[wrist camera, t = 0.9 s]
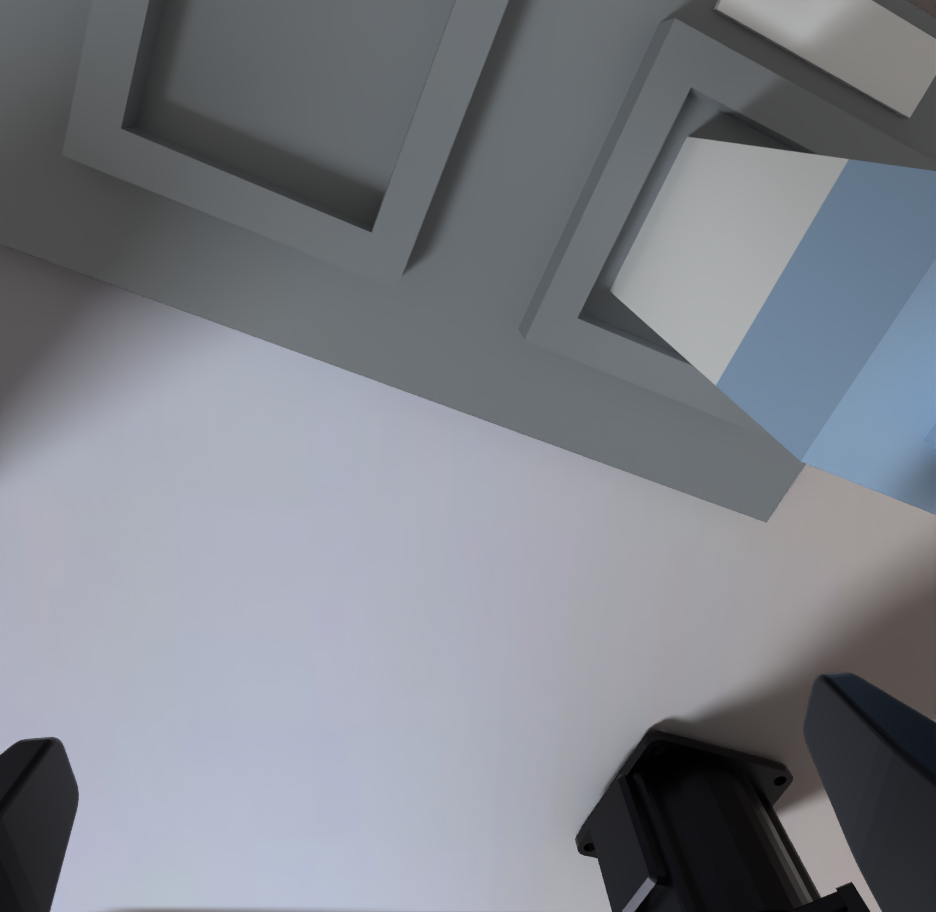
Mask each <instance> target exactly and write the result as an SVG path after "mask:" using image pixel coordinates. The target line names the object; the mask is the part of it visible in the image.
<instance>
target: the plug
mask: <svg viewBox="0 0 936 912" xmlns="http://www.w3.org/2000/svg"><path fill="white" fill-rule="evenodd" d="M610 292H611V293H612V294H613V295H615V296H616V297H617V298H618V299H619V300H620V301H621V302H622V303H624V304H625V305H626V306H627V307H628V308H629V309H630V310H631V311H633V312H634V313H635V314H636V315H637V316H638V317H639V318H640V319H642V320H643V321H644V322H645V323H646V324H647V325H648V326H649V327H650V328H652V329H653V330H654V331H655V332H656V333H657V334H658V335H659V336H661V337H662V338H663V339H664V340H665V341H666V342H667V343H668V344H670V345H671V346H672V347H673V348H674V349H675V350H676V351H677V352H679V353H680V354H681V355H682V356H683V357H684V358H685V359H686V360H687V361H689V362H690V363H691V364H692V365H693V366H694V367H695V368H696V369H698V370H699V371H700V372H701V373H702V374H703V375H704V376H705V377H707V378H708V379H709V380H710V381H711V382H712V383H713V384H714V385H716V386H717V387H718V388H719V389H720V390H721V391H722V392H723V393H724V394H726V395H727V396H728V397H729V398H730V399H731V400H732V401H733V402H735V403H736V404H737V405H738V406H739V407H740V408H741V409H742V410H744V411H745V412H746V413H747V414H748V415H749V416H750V417H751V418H752V419H754V420H755V421H756V422H757V423H758V424H759V425H760V426H761V427H763V428H764V429H765V430H766V431H767V432H768V433H769V434H770V435H772V436H773V437H774V438H775V439H776V440H777V441H778V442H779V443H781V444H782V445H783V446H784V447H785V448H786V449H787V450H788V451H789V452H791V453H792V454H793V455H794V456H795V457H796V458H797V459H798V460H800V461H801V462H803V463H806V464H808V465H811V466H814V467H816V468H819V469H821V470H824V471H826V472H829V473H831V474H834V475H836V476H839V477H841V478H844V479H847V480H849V481H852V482H854V483H857V484H859V485H862V486H864V487H867V488H869V489H872V490H874V491H877V492H880V493H882V494H885V495H887V496H890V497H892V498H895V499H897V500H900V501H902V502H905V503H907V504H910V505H912V506H915V507H918V508H920V509H923V510H925V511H928V512H930V513H933V514H935V515H936V171H931V170H923V169H916V168H909V167H902V166H895V165H887V164H880V163H873V162H866V161H859V160H851V159H844V158H837V157H830V156H823V155H815V154H808V153H801V152H794V151H787V150H779V149H772V148H765V147H758V146H751V145H743V144H736V143H729V142H722V141H715V140H707V139H700V138H693V137H687V138H686V140H685V142H684V144H683V146H682V148H681V150H680V152H679V154H678V156H677V158H676V160H675V162H674V164H673V166H672V168H671V170H670V172H669V174H668V176H667V178H666V180H665V182H664V184H663V186H662V188H661V190H660V192H659V194H658V196H657V198H656V200H655V202H654V204H653V206H652V208H651V209H650V211H649V213H648V215H647V217H646V219H645V221H644V223H643V225H642V227H641V229H640V231H639V233H638V235H637V237H636V239H635V241H634V243H633V245H632V247H631V249H630V251H629V253H628V255H627V257H626V259H625V261H624V263H623V265H622V267H621V269H620V271H619V273H618V275H617V277H616V279H615V281H614V283H613V285H612V287H611V289H610Z"/></svg>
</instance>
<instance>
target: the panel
mask: <svg viewBox="0 0 936 912" xmlns="http://www.w3.org/2000/svg"><path fill="white" fill-rule="evenodd" d="M687 137H693V138H700V139H707V140H715V141H722V142H729V143H736V144H743V145H751V146H758V147H765V148H772V149H779V150H787V151H794V152H801V153H808V154H815V155H823V156H830V157H837V158H844V159H851V160H859V161H866V162H873V163H880V164H887V165H895V166H902V167H909V168H916V169H923V170H931V171H936V18H935V17H933V16H931V15H930V14H928V13H926V12H925V11H923V10H922V9H920V8H918V7H917V6H915V5H913V4H912V3H910V2H909V1H907V0H0V244H1V245H4V246H6V247H9V248H12V249H15V250H17V251H20V252H23V253H26V254H28V255H31V256H34V257H37V258H39V259H42V260H45V261H48V262H50V263H53V264H56V265H59V266H62V267H64V268H67V269H70V270H73V271H75V272H78V273H81V274H84V275H86V276H89V277H92V278H95V279H97V280H100V281H103V282H106V283H108V284H111V285H114V286H117V287H119V288H122V289H125V290H128V291H130V292H133V293H136V294H139V295H141V296H144V297H147V298H150V299H152V300H155V301H158V302H161V303H163V304H166V305H169V306H172V307H174V308H177V309H180V310H183V311H185V312H188V313H191V314H194V315H196V316H199V317H202V318H205V319H207V320H210V321H213V322H216V323H218V324H221V325H224V326H227V327H229V328H232V329H235V330H238V331H240V332H243V333H246V334H249V335H251V336H254V337H257V338H260V339H263V340H265V341H268V342H271V343H274V344H276V345H279V346H282V347H285V348H287V349H290V350H293V351H296V352H298V353H301V354H304V355H307V356H309V357H312V358H315V359H318V360H320V361H323V362H326V363H329V364H331V365H334V366H337V367H340V368H342V369H345V370H348V371H351V372H353V373H356V374H359V375H362V376H364V377H367V378H370V379H373V380H375V381H378V382H381V383H384V384H386V385H389V386H392V387H395V388H397V389H400V390H403V391H406V392H408V393H411V394H414V395H417V396H419V397H422V398H425V399H428V400H430V401H433V402H436V403H439V404H441V405H444V406H447V407H450V408H452V409H455V410H458V411H461V412H464V413H466V414H469V415H472V416H475V417H477V418H480V419H483V420H486V421H488V422H491V423H494V424H497V425H499V426H502V427H505V428H508V429H510V430H513V431H516V432H519V433H521V434H524V435H527V436H530V437H532V438H535V439H538V440H541V441H543V442H546V443H549V444H552V445H554V446H557V447H560V448H563V449H565V450H568V451H571V452H574V453H576V454H579V455H582V456H585V457H587V458H590V459H593V460H596V461H598V462H601V463H604V464H607V465H609V466H612V467H615V468H618V469H620V470H623V471H626V472H629V473H631V474H634V475H637V476H640V477H642V478H645V479H648V480H651V481H653V482H656V483H659V484H662V485H665V486H667V487H670V488H673V489H676V490H678V491H681V492H684V493H687V494H689V495H692V496H695V497H698V498H700V499H703V500H706V501H709V502H711V503H714V504H717V505H720V506H722V507H725V508H728V509H731V510H733V511H736V512H739V513H742V514H744V515H747V516H750V517H753V518H755V519H758V520H761V521H764V522H766V523H767V521H768V520H769V518H770V517H771V515H772V514H773V512H774V511H775V509H776V508H777V506H778V505H779V503H780V502H781V500H782V499H783V497H784V496H785V494H786V493H787V491H788V490H789V488H790V487H791V485H792V484H793V482H794V481H795V479H796V478H797V476H798V475H799V473H800V472H801V470H802V469H803V467H804V466H805V464H806V463H803V462H801V461H800V460H798V459H797V458H796V457H795V456H794V455H793V454H792V453H791V452H789V451H788V450H787V449H786V448H785V447H784V446H783V445H782V444H781V443H779V442H778V441H777V440H776V439H775V438H774V437H773V436H772V435H770V434H769V433H768V432H767V431H766V430H765V429H764V428H763V427H761V426H760V425H759V424H758V423H757V422H756V421H755V420H754V419H752V418H751V417H750V416H749V415H748V414H747V413H746V412H745V411H744V410H742V409H741V408H740V407H739V406H738V405H737V404H736V403H735V402H733V401H732V400H731V399H730V398H729V397H728V396H727V395H726V394H724V393H723V392H722V391H721V390H720V389H719V388H718V387H717V386H716V385H714V384H713V383H712V382H711V381H710V380H709V379H708V378H707V377H705V376H704V375H703V374H702V373H701V372H700V371H699V370H698V369H696V368H695V367H694V366H693V365H692V364H691V363H690V362H689V361H687V360H686V359H685V358H684V357H683V356H682V355H681V354H680V353H679V352H677V351H676V350H675V349H674V348H673V347H672V346H671V345H670V344H668V343H667V342H666V341H665V340H664V339H663V338H662V337H661V336H659V335H658V334H657V333H656V332H655V331H654V330H653V329H652V328H650V327H649V326H648V325H647V324H646V323H645V322H644V321H643V320H642V319H640V318H639V317H638V316H637V315H636V314H635V313H634V312H633V311H631V310H630V309H629V308H628V307H627V306H626V305H625V304H624V303H622V302H621V301H620V300H619V299H618V298H617V297H616V296H615V295H613V294H612V293H611V292H610V289H611V287H612V285H613V283H614V281H615V279H616V277H617V275H618V273H619V271H620V269H621V267H622V265H623V263H624V261H625V259H626V257H627V255H628V253H629V251H630V249H631V247H632V245H633V243H634V241H635V239H636V237H637V235H638V233H639V231H640V229H641V227H642V225H643V223H644V221H645V219H646V217H647V215H648V213H649V211H650V209H651V208H652V206H653V204H654V202H655V200H656V198H657V196H658V194H659V192H660V190H661V188H662V186H663V184H664V182H665V180H666V178H667V176H668V174H669V172H670V170H671V168H672V166H673V164H674V162H675V160H676V158H677V156H678V154H679V152H680V150H681V148H682V146H683V144H684V142H685V140H686V138H687Z"/></svg>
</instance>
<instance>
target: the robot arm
mask: <svg viewBox="0 0 936 912" xmlns="http://www.w3.org/2000/svg"><path fill="white" fill-rule="evenodd" d="M803 731H804V737H805V741H806V744H807V747H808V749H809V752H810V754H811V756H812V759H813V761H814V764H815V766H816V768H817V771H818V773H819V776H820V778H821V780H822V783H823V785H824V787H825V790H826V792H827V795H828V797H829V799H830V802H831V804H832V807H833V809H834V811H835V814H836V816H837V819H838V821H839V823H840V826H841V828H842V831H843V833H844V835H845V838H846V840H847V843H848V845H849V847H850V849H851V852H852V854H853V856H854V858H855V861H856V863H857V865H858V867H859V869H860V871H861V873H862V875H863V877H864V879H865V881H866V883H867V885H868V887H869V888H870V890H871V892H872V894H873V896H874V898H875V900H876V901H877V903H878V905H879V907H880V909H881V911H882V912H936V722H934V721H932V720H931V719H929V718H927V717H926V716H924V715H922V714H921V713H919V712H917V711H916V710H914V709H912V708H911V707H909V706H907V705H906V704H904V703H902V702H901V701H899V700H897V699H896V698H894V697H892V696H891V695H889V694H887V693H886V692H884V691H882V690H881V689H879V688H877V687H876V686H874V685H872V684H871V683H869V682H867V681H865V680H864V679H862V678H860V677H859V676H857V675H855V674H853V673H849V672H840V673H828V674H821V675H818V676H817V677H816V678H815V680H814V681H813V684H812V688H811V693H810V697H809V701H808V705H807V710H806V714H805V718H804V724H803ZM656 745H657V746H656ZM792 780H793V776H792V775H791V773H790V771H789V770H788V768H787V766H786V765H784V764H782V763H778V762H774V761H770V760H767V759H763V758H759V757H755V756H752V755H748V754H744V753H740V752H736V751H733V750H729V749H725V748H721V747H718V746H714V745H710V744H706V743H702V742H699V741H695V740H691V739H687V738H684V737H680V736H676V735H672V734H668V733H665V732H660V731H655V732H651V733H649V734H647V735H646V736H645V737H644V738H643V739H642V741H641V742H640V744H639V745H638V747H637V748H636V750H635V751H634V753H633V754H632V755H631V757H630V758H629V760H628V761H627V763H626V764H625V766H624V767H623V769H622V770H621V771H620V773H619V774H618V776H617V777H616V779H615V780H614V782H613V783H612V785H611V786H610V788H609V789H608V790H607V792H606V793H605V795H604V796H603V798H602V799H601V801H600V802H599V804H598V805H597V807H596V808H595V809H594V811H593V812H592V814H591V815H590V817H589V818H588V820H587V821H586V823H585V824H584V826H583V827H582V828H581V830H580V831H579V833H578V834H577V836H576V838H575V841H576V845H577V849H578V852H579V853H580V854H582V855H585V856H590V857H594V858H598V861H599V865H600V869H601V872H602V876H603V880H604V883H605V887H606V891H607V894H608V898H609V902H610V905H611V909H612V912H870V911H869V909H868V907H867V906H866V904H865V902H864V901H863V899H862V898H861V896H860V894H859V893H858V891H857V890H856V888H855V886H854V885H853V883H852V882H850V883H848V884H845V885H843V886H840V887H838V888H836V890H837V892H835V893H832V894H830V895H827V896H825V897H822V898H821V896H820V895H819V893H818V891H817V889H816V887H815V885H814V883H813V882H812V880H811V878H810V876H809V874H808V872H807V870H806V869H805V867H804V865H803V863H802V861H801V859H800V857H799V855H798V854H797V852H796V850H795V848H794V846H793V844H792V842H791V841H790V839H789V837H788V835H787V833H786V831H785V829H784V828H783V826H782V824H781V822H780V820H779V818H778V816H777V815H776V813H775V811H774V809H773V807H772V806H773V805H774V803H775V802H776V801H777V800H778V799H779V797H780V796H781V795H782V794H783V792H784V791H785V790H786V789H787V788H788V786H789V785H790V784H791V782H792ZM78 800H79V792H78V786H77V782H76V779H75V777H74V774H73V771H72V768H71V765H70V762H69V759H68V757H67V754H66V751H65V748H64V746H63V744H62V742H61V741H60V740H59V739H58V738H55V737H45V738H33V739H24V740H20V741H18V742H16V743H15V744H13V745H12V746H11V747H9V748H8V749H7V750H6V751H4V752H3V753H2V754H1V755H0V912H50V910H51V906H52V902H53V898H54V895H55V891H56V887H57V883H58V879H59V876H60V872H61V868H62V864H63V861H64V857H65V853H66V849H67V845H68V842H69V838H70V834H71V830H72V827H73V823H74V819H75V815H76V811H77V807H78Z"/></svg>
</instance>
